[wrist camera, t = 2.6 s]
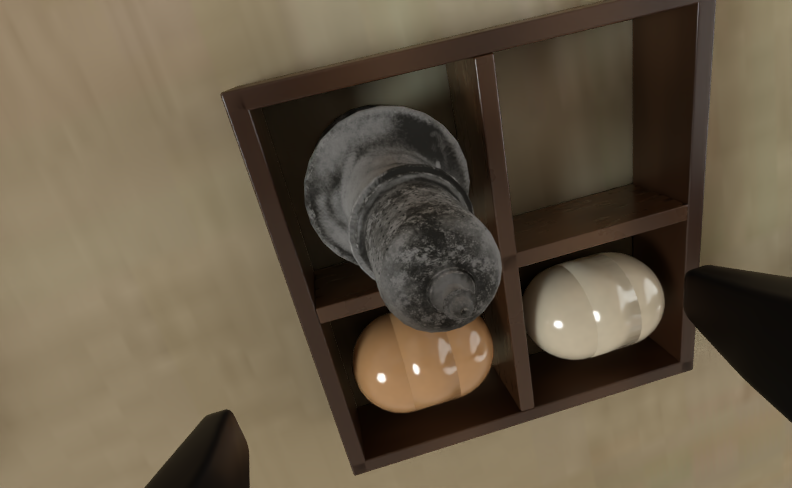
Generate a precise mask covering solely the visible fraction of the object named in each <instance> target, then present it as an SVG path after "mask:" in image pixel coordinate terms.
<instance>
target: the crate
mask: <svg viewBox="0 0 792 488" xmlns="http://www.w3.org/2000/svg"><path fill="white" fill-rule="evenodd" d="M715 10H716V0H605V1H600V2H596V3H592V4H588V5H583V6H579V7H575V8H571V9H566V10H562V11H558V12H553V13H549V14H545V15H541V16H536V17H532V18H528V19H523V20H519V21H515V22H511V23H506V24H502V25H498V26H494V27H489V28H485V29H481V30H476V31H472V32H468V33H464V34H459V35H455V36H451V37H447V38H442V39H438V40H434V41H429V42H425V43H421V44H417V45H412V46H408V47H404V48H400V49H395V50H391V51H387V52H382V53H378V54H374V55H370V56H365V57H361V58H357V59H353V60H348V61H344V62H340V63H335V64H331V65H327V66H323V67H318V68H314V69H310V70H306V71H301V72H297V73H293V74H288V75H284V76H280V77H276V78H271V79H267V80H263V81H259V82H254V83H250V84H246V85H241V86H237V87H235V88H232V89H230V90H227V91H225V92H222V93H221V98H222V100H223V103H224V106H225V109H226V112H227V115H228V118H229V120H230V123H231V126H232V129H233V132H234V135H235V137H236V140H237V143H238V146H239V149H240V152H241V155H242V157H243V160H244V163H245V166H246V169H247V172H248V175H249V177H250V180H251V183H252V186H253V189H254V192H255V194H256V197H257V200H258V203H259V206H260V209H261V212H262V214H263V217H264V220H265V223H266V226H267V229H268V232H269V234H270V237H271V240H272V243H273V246H274V249H275V251H276V254H277V257H278V260H279V263H280V266H281V269H282V271H283V274H284V277H285V280H286V283H287V286H288V288H289V291H290V294H291V297H292V300H293V303H294V306H295V308H296V311H297V314H298V317H299V320H300V323H301V326H302V328H303V331H304V334H305V337H306V340H307V343H308V345H309V348H310V351H311V354H312V357H313V360H314V363H315V365H316V368H317V371H318V374H319V377H320V380H321V382H322V385H323V388H324V391H325V394H326V397H327V400H328V402H329V405H330V408H331V411H332V414H333V417H334V420H335V422H336V425H337V428H338V431H339V434H340V437H341V439H342V442H343V445H344V448H345V451H346V454H347V457H348V459H349V462H350V465H351V468H352V471H353V474H354V475H359V474H362V473H365V472H368V471H371V470H374V469H378V468H381V467H384V466H387V465H390V464H393V463H397V462H400V461H403V460H406V459H409V458H413V457H416V456H419V455H422V454H425V453H428V452H432V451H435V450H438V449H441V448H444V447H447V446H451V445H454V444H457V443H460V442H463V441H467V440H470V439H473V438H476V437H479V436H482V435H486V434H489V433H492V432H495V431H498V430H501V429H505V428H508V427H511V426H514V425H517V424H521V423H524V422H527V421H530V420H533V419H536V418H540V417H543V416H546V415H549V414H552V413H555V412H559V411H562V410H565V409H568V408H571V407H574V406H578V405H581V404H584V403H587V402H590V401H594V400H597V399H600V398H603V397H606V396H609V395H613V394H616V393H619V392H622V391H625V390H628V389H632V388H635V387H638V386H641V385H644V384H648V383H651V382H654V381H657V380H660V379H663V378H667V377H670V376H673V375H676V374H679V373H683V372H686V371H689V370H692V369H693V357H694V341H695V325H694V324H693V323H692V322H691V321H690V320H689V319H688V318H687V316H686V314H685V312H684V308H683V293H684V276H685V274H686V273H687V272H688V271H689V270H691V269H695V268H698V267H699V262H700V247H701V231H702V215H703V199H704V183H705V168H706V152H707V136H708V120H709V104H710V89H711V73H712V57H713V41H714V25H715ZM631 19H633V184H630V185H626V186H623V187H619V188H615V189H612V190H608V191H604V192H601V193H597V194H593V195H590V196H586V197H582V198H579V199H575V200H571V201H568V202H564V203H560V204H557V205H553V206H549V207H546V208H542V209H538V210H535V211H531V212H527V213H524V214H520V215H516V216H513V217H512V208H511V199H510V191H509V182H508V174H507V165H506V156H505V148H504V139H503V130H502V122H501V113H500V105H499V96H498V87H497V79H496V70H495V61H494V54H493V52H497V51H502V50H506V49H510V48H514V47H518V46H522V45H527V44H531V43H535V42H539V41H543V40H548V39H552V38H556V37H560V36H564V35H568V34H573V33H577V32H581V31H585V30H589V29H594V28H598V27H602V26H606V25H610V24H614V23H619V22H623V21H627V20H631ZM443 64H446V68H447V74H448V81H449V87H450V94H451V100H452V106H453V113H454V119H455V126H456V132H457V138H458V144H459V146H460V148H461V150H462V152H463V154H464V157H465V159H466V162H467V168H468V174H469V180H470V184H469V194H468V196H469V199H470V201H471V203H472V206H473V212H474V216H475V217H476V218H477V219H479V220H480V221H481V222H482V223H483V225H484V226H485V227H486V228H487V229H488V230H489V231H490V232H491V234H492V236H493V238H494V240H495V242H496V245H497V247H498V249H499V252H500V256H501V264H502V272H501V280H500V284H499V287H498V289H497V292H496V294H495V297H494V298H493V300H492V301H491V302H490V304H489V305H488V307H487V308H486V309H485V318H486V324H487V326H488V327H489V329H490V331H491V334H492V338H493V344H494V357H493V367H491V369H490V372H489V373H488V375H487V377H486V378H485V380H484V381H483V382H482V384H481V385H480V386H479V387H478V388H477V389H475V390H474V391H473V392H471V393H470V394H468V395H465V396H463V397H461V398H458V399H454V400H451V401H448V402H444V403H441V404H438V405H435V406H431V407H428V408H425V409H422V410H418V411H415V412H410V413H393V412H389V411H385V410H383V409H381V408H379V407H377V406H375V405H374V404H368V405H365V406H362V407H358V408H357V405H356V402H355V399H354V396H353V392H352V389H351V386H350V383H349V380H348V377H347V374H346V371H345V367H344V364H343V361H342V358H341V355H340V352H339V349H338V346H337V342H336V339H335V336H334V333H333V330H332V327H331V324H330V321H333V320H336V319H340V318H343V317H347V316H350V315H354V314H357V313H361V312H364V311H368V310H372V309H375V308H379V307H382V306H386V304H385V303H384V301H383V300H382V298H381V296H380V292H379V289H378V286H377V283H376V280H374V279H372V278H371V277H370V276H369V275H368V274H367V273H366V272H364V271H363V270H362V269H361V267H360V266H359V265H356V264H354V263H352V262H350V261H348V262H344V263H340V264H337V265H333V266H329V267H326V268H322V269H318V270H315V271H313V267H312V264H311V261H310V258H309V255H308V252H307V249H306V245H305V242H304V239H303V236H302V233H301V230H300V227H299V224H298V220H297V217H296V214H295V211H294V208H293V205H292V202H291V199H290V195H289V192H288V189H287V186H286V183H285V180H284V177H283V174H282V170H281V167H280V164H279V161H278V158H277V155H276V152H275V149H274V145H273V142H272V139H271V136H270V133H269V130H268V127H267V124H266V120H265V117H264V114H263V111H262V108H263V107H267V106H272V105H276V104H280V103H284V102H288V101H292V100H297V99H301V98H305V97H309V96H313V95H318V94H322V93H326V92H330V91H334V90H338V89H343V88H347V87H351V86H355V85H359V84H364V83H368V82H372V81H376V80H380V79H384V78H389V77H393V76H397V75H401V74H405V73H410V72H414V71H418V70H422V69H426V68H430V67H435V66H439V65H443ZM632 235H633V257H634V258H636V259H638V260H640V261H642V262H643V263H645V264H646V265H647V266H648V267H649V268H650V269H651V270H652V271H653V272H654V273H655V274H656V276H657V277H658V279H659V280H660V283H661V285H662V287H663V291H664V295H665V308H664V313H663V316H662V318H661V321H660V323H659V325H658V326H657V327H656V329H655V330H654V331H653V332H652V334H650V335H649V336H648V337H646V338H645V339H644V340H642V341H640V342H638V343H636V344H633V345H631V346H627V347H624V348H621V349H618V350H614V351H611V352H608V353H605V354H601V355H598V356H595V357H592V358H587V359H582V360H567V359H562V358H558V357H555V356H553V355H551V354H549V353H547V352H545V351H544V352H541V353H537V354H534V355H531V356H529V355H528V346H527V338H526V329H525V320H524V312H523V303H522V294H521V286H520V277H519V269H518V268H520V267H523V266H527V265H530V264H534V263H537V262H541V261H544V260H548V259H551V258H555V257H558V256H562V255H565V254H569V253H573V252H576V251H580V250H583V249H587V248H590V247H594V246H597V245H601V244H604V243H608V242H611V241H615V240H618V239H622V238H625V237H629V236H632Z"/></svg>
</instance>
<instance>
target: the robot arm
mask: <svg viewBox="0 0 792 488" xmlns="http://www.w3.org/2000/svg"><path fill="white" fill-rule="evenodd" d="M683 308H684V312H685V314H686V316H687V318H688V319H689V320H690V321H691V322H692V323H693V324H694V325H695V327H696V328H697V329H698V330H699V331H700V332H701V333H702V334H703V335H704V336H705V337H706V339H707V340H708V341H709V342H710V343H711V344H712V345H713V346H714V347H715V348H716V349H717V351H718V352H719V353H720V354H721V355H722V356H723V357H724V358H725V359H726V360H727V361H728V363H729V364H730V365H731V366H732V367H733V368H734V369H735V370H736V371H737V372H738V373H739V374H740V375H741V376H742V377H743V378H744V379H745V380H746V381H747V382H748V383H749V384H750V385H751V386H752V387H753V388H754V389H755V390H756V391H757V392H759V393H760V394H761V395H762V396H763V397H764V398H765V399H766V400H767V401H768V402H770V403H771V404H772V405H773V406H774V407H775V408H776V409H777V410H778V411H779V412H781V413H782V414H783V415H784V416H785V417H786V418H787V419H788V420H789V421H790V422H792V277H785V276H778V275H772V274H765V273H759V272H752V271H746V270H739V269H732V268H726V267H719V266H713V265H705V266H701V267H698V268H695V269H691V270H689V271H688V272H687V273H686V274H685V276H684V293H683ZM145 488H250V481H249V449H248V445H247V442H246V439H245V437H244V435H243V433H242V431H241V429H240V427H239V425H238V422H237V420H236V418H235V416H234V414H233V413H232V412H231V411H230V410H227V409H226V410H222V411H219V412H216V413H212V414H209V415H207V416H205V418H204V419H203V420H202V421H201V422H200V423H199V424H198V425H197V427H196V428H195V429H194V430H193V431H192V432H191V434H190V435H189V436H188V437H187V438H186V440H185V441H184V442H183V443H182V444H181V445H180V447H179V448H178V449H177V450H176V451H175V452H174V454H173V455H172V456H171V457H170V458H169V459H168V461H167V462H166V463H165V464H164V465H163V467H162V468H161V469H160V470H159V471H158V472H157V474H156V475H155V476H154V477H153V478H152V479H151V481H150V482H149V483H148V484H147V485H146V486H145Z"/></svg>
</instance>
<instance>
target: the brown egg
mask: <svg viewBox="0 0 792 488" xmlns="http://www.w3.org/2000/svg"><path fill="white" fill-rule="evenodd" d="M493 357H494V344H493V338H492V334H491V331H490V329H489V327H488V326H487V324H486V322H485V320H484V319H483V318H482V317H481V316H480V315H479V316H478V317H477V318H476V319H475V320H474V321H472V322H470V323H468V324H467V325H465V326H463V327H461V328H457V329H454V330H451V331H447V332H434V333H430V332H425V331H419V330H416V329H414V328H412V327H409V326H407V325H405V324H404V323H402V322H401V321H400V320H399V319H398V318H397V317H396V316H394V315H393V314H392V313H391V312H389V313H386V314H384V315H381V316H379V317H377V318H376V319H374V320H373V321H371V322H370V323H369V324H368V325H367V326H366V327H365V328H364V329H363V330H362V332H361V333H360V335H359V336H358V338H357V341H356V343H355V345H354V349H353V354H352V370H353V375H354V378H355V381H356V384H357V386H358V387H359V389H360V391H361V393H362V394H363V395H364V396H365V397H366V398H367V399H368V401H370V402H371V403H372V404H374V405H375V406H377V407H379V408H381V409H383V410H385V411H389V412H393V413H410V412H415V411H418V410H422V409H425V408H428V407H431V406H435V405H438V404H441V403H444V402H448V401H451V400H454V399H458V398H461V397H463V396H465V395H468V394H470V393H471V392H473V391H474V390H475V389H477V388H478V387H479V386H480V385H481V384H482V382H483V381H484V380H485V378H486V377H487V375H488V373H489V372H490V369H491V366H492V363H493Z"/></svg>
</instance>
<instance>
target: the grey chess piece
mask: <svg viewBox="0 0 792 488" xmlns="http://www.w3.org/2000/svg"><path fill="white" fill-rule="evenodd" d="M469 184H470V180H469V174H468V168H467V162H466V159H465V157H464V154H463V152H462V150H461V148H460V146H459V144H458V141H457V140H456V139H455V138H454V137H453V136H452V134H451V133H450V132H449V131H448V130H447V129H446V127H445V126H444V125H442V124H441V123H439V122H438V121H436V120H435V119H433V118H432V117H430V116H429V115H427V114H426V113H424V112H420V111H417V110H414V109H411V108H407V107H404V106H374V105H367V106H363V107H360V108H356V109H352V110H350V111H348V112H346V113H344V114H343V115H341V116H339V117H338V118H336V119H335V120H334V121H333V122H332V123H331V124H330V125H329V126H328V127H327V128H326V129H325V130H324V131H323V133H322V135H321V137H320V139H319V140H318V142H317V144H316V146H315V150H314V153H313V154H312V156H311V158H310V160H309V163H308V168H307V172H306V176H305V180H304V196H305V207H306V210H307V213H308V216H309V219H310V222H311V225H312V227H313V228H314V230H315V231H316V233H317V234H318V236H319V237H320V239H321V240H322V242H323V243H324V244H325V245H326V246H328V247H329V248H330V249H331V250H332V251H333V252H335V253H336V254H337V255H338V256H340V257H342V258H344V259H346V260H348V261H350V262H352V263H354V264H356V265H359V266H360V267H361V269H362V270H363V271H364V272H366V273H367V274H368V275H369V276H370V277H371V278H372V279H374V280H376V283H377V286H378V289H379V292H380V296H381V298H382V300H383V301H384V303H385V304H386V306H387V308H388V309H389V310H390V311H391V313H392V314H393V315H394V316H396V317H397V318H398V319H399V320H400V321H401V322H402V323H404V324H405V325H407V326H409V327H412V328H414V329H416V330H419V331H425V332H430V333H434V332H447V331H451V330H454V329H457V328H461V327H463V326H465V325H467V324H468V323H470V322H472V321H474V320H475V319H476V318H477V317H478V316H479V315H480V314H481V313H483V312H484V311H485V309H486V308H487V307H488V305H489V304H490V302H491V301H492V300H493V298H494V297H495V294H496V292H497V289H498V287H499V284H500V280H501V272H502V264H501V256H500V252H499V249H498V247H497V245H496V242H495V240H494V238H493V236H492V234H491V232H490V231H489V230H488V229H487V228H486V227H485V226H484V225H483V223H482V222H481V221H480V220H479V219H477V218H476V217H475V216H474V212H473V206H472V203H471V201H470V199H469V196H468V194H469Z"/></svg>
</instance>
